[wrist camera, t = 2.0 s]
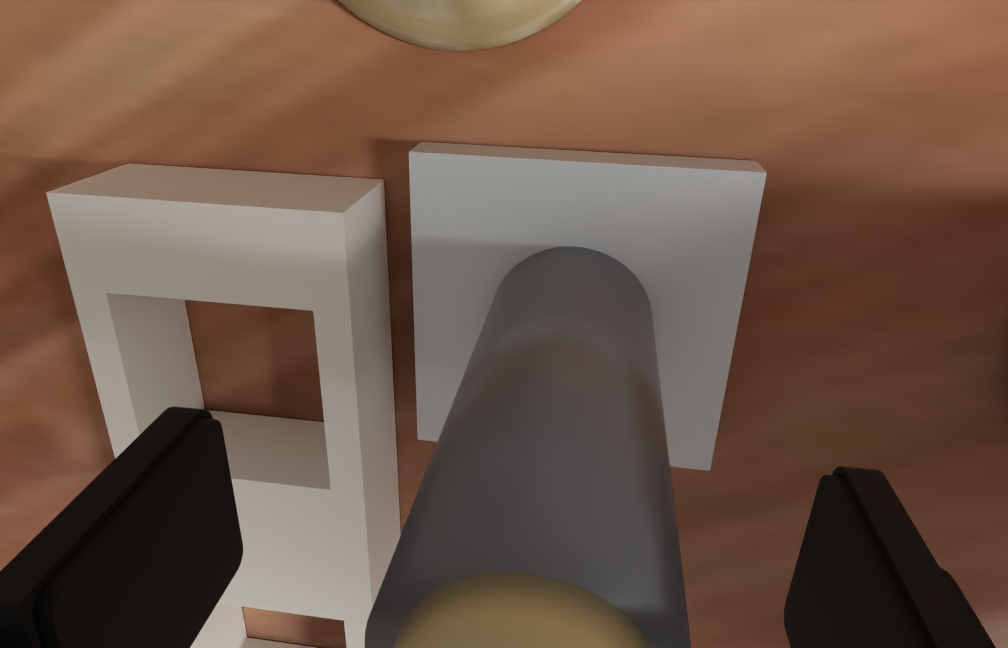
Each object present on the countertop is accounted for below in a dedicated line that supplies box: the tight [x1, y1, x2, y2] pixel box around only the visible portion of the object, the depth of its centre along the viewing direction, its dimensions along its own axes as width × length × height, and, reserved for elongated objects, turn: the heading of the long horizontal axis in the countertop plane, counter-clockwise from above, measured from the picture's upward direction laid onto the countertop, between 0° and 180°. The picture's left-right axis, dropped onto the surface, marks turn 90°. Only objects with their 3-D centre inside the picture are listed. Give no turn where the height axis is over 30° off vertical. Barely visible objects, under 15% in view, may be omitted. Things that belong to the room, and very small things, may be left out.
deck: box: [409, 142, 767, 471], centre depth 18 cm, size 8×8×1 cm
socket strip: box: [46, 163, 401, 648], centre depth 21 cm, size 7×20×3 cm, turn 178°
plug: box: [365, 247, 691, 648], centre depth 12 cm, size 4×4×11 cm
